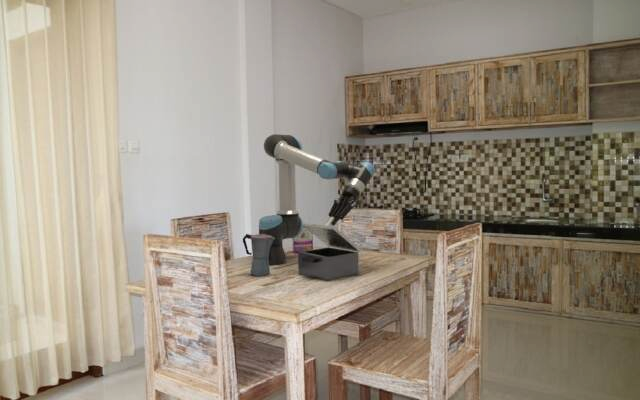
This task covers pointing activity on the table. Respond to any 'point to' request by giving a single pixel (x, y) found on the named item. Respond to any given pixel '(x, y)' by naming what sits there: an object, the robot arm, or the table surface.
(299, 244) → the candy bar box
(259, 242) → the moka pot
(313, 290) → the table surface
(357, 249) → the grey box lid
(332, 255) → the dark grey storage box
